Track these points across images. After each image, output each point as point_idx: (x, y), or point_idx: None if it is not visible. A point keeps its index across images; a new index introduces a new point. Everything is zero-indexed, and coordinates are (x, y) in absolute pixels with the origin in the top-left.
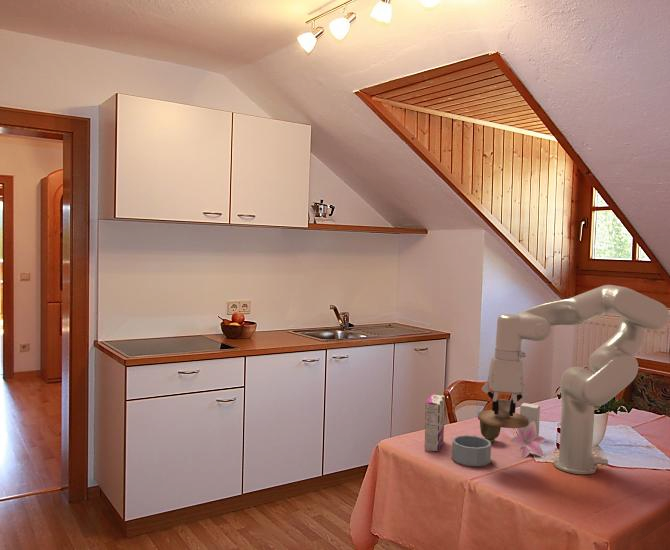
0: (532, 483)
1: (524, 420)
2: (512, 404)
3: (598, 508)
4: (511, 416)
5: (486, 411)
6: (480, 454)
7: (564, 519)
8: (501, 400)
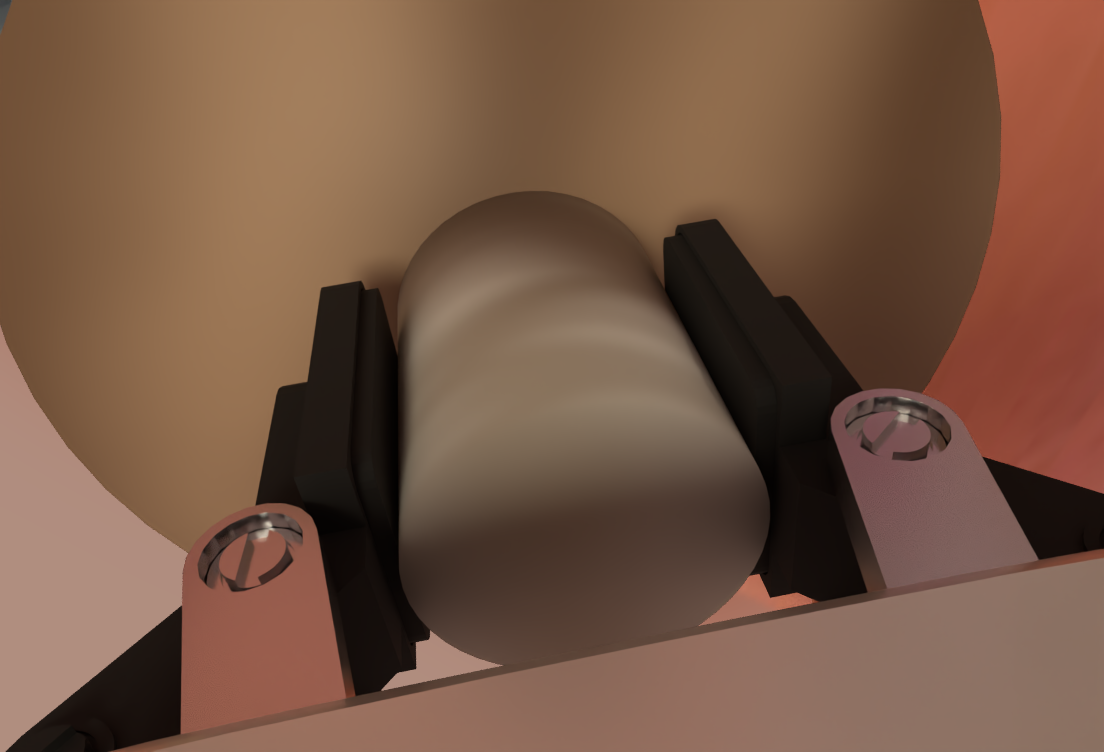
0: None
1: (894, 328)
2: (771, 579)
3: (1025, 441)
4: (695, 194)
5: (102, 52)
6: None
7: (799, 594)
8: (508, 545)
